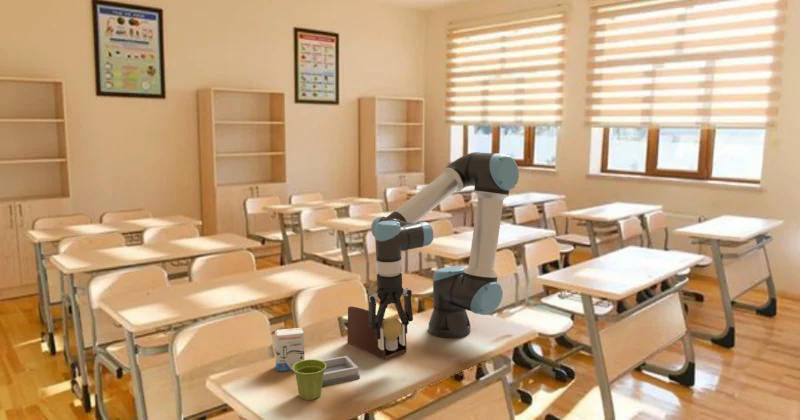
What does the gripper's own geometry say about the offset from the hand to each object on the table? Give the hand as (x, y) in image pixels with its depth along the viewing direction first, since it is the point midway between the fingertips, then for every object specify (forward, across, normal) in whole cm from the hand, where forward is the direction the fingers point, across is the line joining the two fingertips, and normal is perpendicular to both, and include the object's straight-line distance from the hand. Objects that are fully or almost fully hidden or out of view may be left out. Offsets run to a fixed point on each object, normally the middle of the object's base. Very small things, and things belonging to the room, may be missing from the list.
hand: (391, 346), depth 183 cm
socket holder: (+7, +18, -5) cm, 20 cm away
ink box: (+7, +28, -16) cm, 33 cm away
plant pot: (+7, +28, +5) cm, 29 cm away
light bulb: (+1, 0, 0) cm, 1 cm away
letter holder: (+8, -3, -19) cm, 21 cm away
